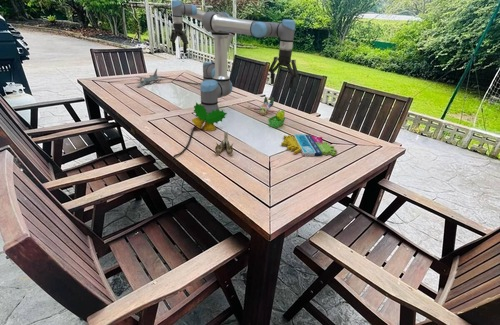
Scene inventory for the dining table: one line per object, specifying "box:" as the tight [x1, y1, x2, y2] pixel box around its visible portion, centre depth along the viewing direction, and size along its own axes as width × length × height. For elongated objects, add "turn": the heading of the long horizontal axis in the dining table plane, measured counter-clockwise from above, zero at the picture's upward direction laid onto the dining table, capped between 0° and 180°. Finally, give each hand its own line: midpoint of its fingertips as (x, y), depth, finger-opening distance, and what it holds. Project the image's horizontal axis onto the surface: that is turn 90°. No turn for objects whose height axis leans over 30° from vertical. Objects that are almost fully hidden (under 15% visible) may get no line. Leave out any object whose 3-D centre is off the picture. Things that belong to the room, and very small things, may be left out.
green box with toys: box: [267, 110, 287, 129], centre depth 174 cm, size 11×9×11 cm
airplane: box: [135, 68, 167, 88], centre depth 254 cm, size 38×31×10 cm
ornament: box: [191, 102, 228, 132], centre depth 162 cm, size 21×8×15 cm, turn 105°
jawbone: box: [214, 131, 234, 156], centre depth 136 cm, size 9×15×10 cm
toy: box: [246, 95, 281, 116], centre depth 203 cm, size 28×7×30 cm
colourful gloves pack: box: [280, 133, 338, 157], centre depth 150 cm, size 26×2×30 cm
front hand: (281, 86), depth 164 cm, fingers open, 13 cm apart
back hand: (179, 52), depth 216 cm, fingers open, 13 cm apart
